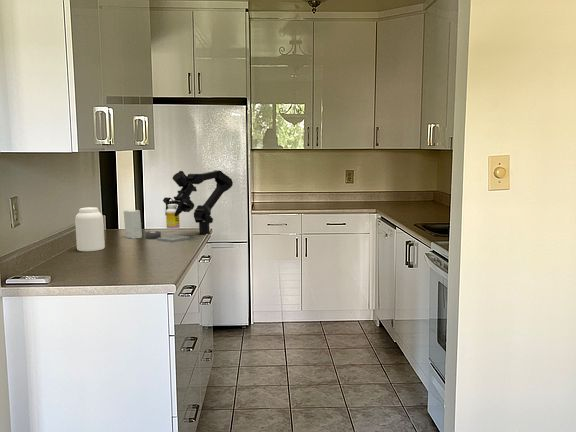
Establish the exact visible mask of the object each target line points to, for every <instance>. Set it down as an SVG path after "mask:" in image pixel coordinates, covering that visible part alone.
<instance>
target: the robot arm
mask: <svg viewBox="0 0 576 432" xmlns="http://www.w3.org/2000/svg"><path fill="white" fill-rule="evenodd" d="M213 179H214V182H215V183H216V186H215V189H214V190H213V191H212V193H211V194H210V195H209V197H208V198H207V199H206V201H205V202H204V204H203V205H200V204H199V205H197V207H196V208H195V203H194V202H193V201H192V200H191V197H190V196H191V195H192V193H193V192H197V191H198V190H197V186H196V185H200V184H202V183H203V182H204V181H208V180H213ZM172 180H173V181H174V182H175V184H176V185H177V186H178V187H179V188H180V190H177V195H176V196H173V198H171V197H164V198H163V199H162V202H163V203H164V204H165V214H164V215H165V216H166V210H167V209H168V204H177V207H176V208H177V209H176V212H175V217H176V216H178V215H179V216H180V214H182V213H189V212H191V211H192V210H193V209H194V208H195V209H194V212H193V219H194V221H195V223H197V224H198V232H197V233H198V235H211V231H210V230H211V229H210V224H212V223H213V222H214V218H213V217H212V216H211V212H212V209H213V208H214V206H215V205H216V203H217V202H218V201H219V200H220V198H221V197H222V195H224V193H225V192H226V191H229V190H230V189H231V188H232V187H233V185H234V184H233V180H232V178H230V177H229V175H228V174H227V175H226V174H225V173H224V172H223V171H222V170H220V169H219V170H212V171H207V172H203V173H189V174H187V175H186V174H185V172H184V171H183V170H179V171H178V172H176V173H175V174H174V175H172ZM173 199H174V200H173Z"/></svg>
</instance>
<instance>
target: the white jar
mask: <svg viewBox="0 0 576 432" xmlns="http://www.w3.org/2000/svg"><path fill="white" fill-rule="evenodd" d="M74 221H75V223H74V225H75V226H74V227H75V238H76V249H77V251H79V252H82V253H83V252H85V253H86V252H97V251H101V250H104V249H105V247H106V244H105V227H104V226H105V225H104V216H103V213H101V211H99V207H95V206H89V207H81V208H79V209H78V213H77V214H76V215H75V218H74Z"/></svg>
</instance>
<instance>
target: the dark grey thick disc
mask: <svg viewBox="0 0 576 432" xmlns="http://www.w3.org/2000/svg"><path fill="white" fill-rule="evenodd" d="M144 234H145V235H144V237H145V239H146V240H157V238H159V237H162V233H161V231H157V230H153V231H146V232H145V233H144Z"/></svg>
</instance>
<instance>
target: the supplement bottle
mask: <svg viewBox="0 0 576 432" xmlns="http://www.w3.org/2000/svg"><path fill="white" fill-rule="evenodd" d="M177 207H178V205H177V204H168V209H167V210H166V209H165V212H166V215H165V217H166V219H165V220H166V223H165V224H166V229H167V230H170V231H172V230H174V231H175V230H179V229H180V225H181V224H180V214H179V215H178V216H176V217H175V212H176V209H177Z"/></svg>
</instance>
